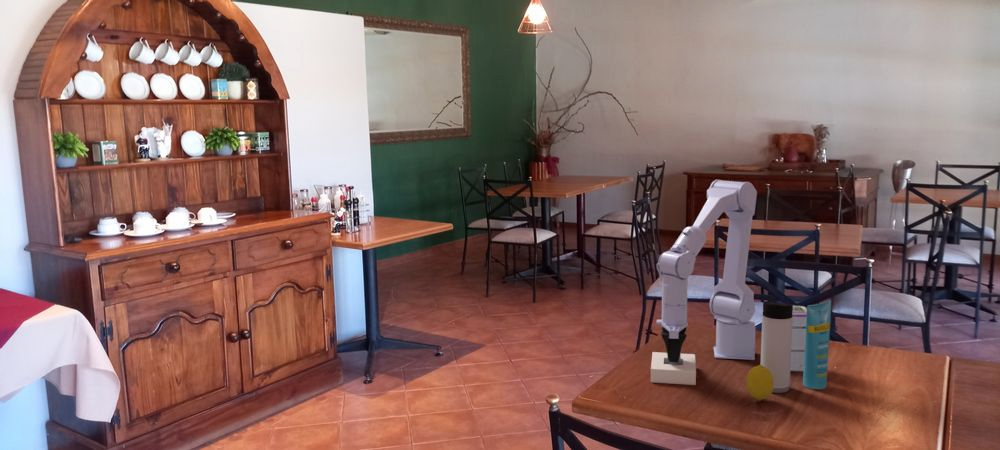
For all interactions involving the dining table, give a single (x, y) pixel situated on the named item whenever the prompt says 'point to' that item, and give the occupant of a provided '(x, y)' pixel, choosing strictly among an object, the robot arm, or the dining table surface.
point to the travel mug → (777, 343)
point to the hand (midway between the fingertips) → (673, 359)
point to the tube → (817, 345)
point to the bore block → (673, 369)
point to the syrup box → (798, 338)
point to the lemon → (759, 382)
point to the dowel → (674, 362)
